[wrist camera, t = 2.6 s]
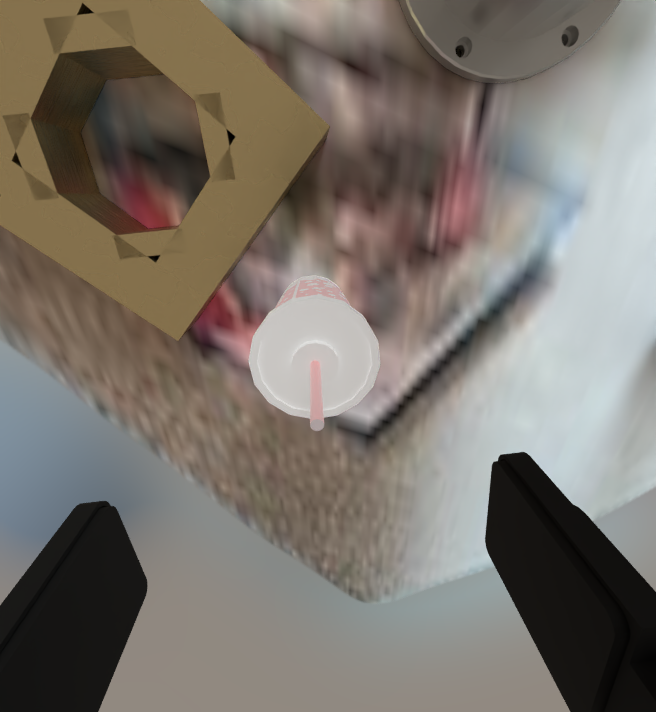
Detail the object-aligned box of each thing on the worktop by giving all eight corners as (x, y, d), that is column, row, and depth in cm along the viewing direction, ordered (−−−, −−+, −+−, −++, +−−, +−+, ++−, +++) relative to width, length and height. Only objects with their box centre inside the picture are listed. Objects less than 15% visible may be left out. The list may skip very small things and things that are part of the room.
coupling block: (95, -82, 17) (37, -157, 14) (326, 138, 21) (329, 126, 18) (-15, 175, 21) (-84, 170, 17) (197, 319, 25) (177, 341, 21)
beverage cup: (288, 361, 27) (269, 513, 14) (253, 282, 24) (191, 378, 11) (368, 333, 26) (426, 465, 13) (341, 249, 24) (377, 312, 11)
